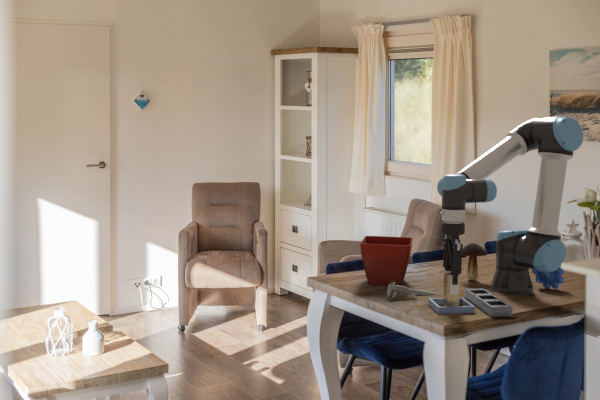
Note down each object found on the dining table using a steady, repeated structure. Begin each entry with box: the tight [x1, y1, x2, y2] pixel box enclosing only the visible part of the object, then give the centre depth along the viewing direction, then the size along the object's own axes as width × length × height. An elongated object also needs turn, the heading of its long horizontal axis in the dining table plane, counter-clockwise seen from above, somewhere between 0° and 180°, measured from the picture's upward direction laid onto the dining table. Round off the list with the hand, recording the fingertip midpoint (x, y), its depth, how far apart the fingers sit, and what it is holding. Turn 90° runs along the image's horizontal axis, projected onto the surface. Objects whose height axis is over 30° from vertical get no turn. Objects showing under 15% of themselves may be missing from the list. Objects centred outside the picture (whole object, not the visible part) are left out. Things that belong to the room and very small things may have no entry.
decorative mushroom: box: [462, 242, 488, 281], centre depth 279 cm, size 11×11×15 cm
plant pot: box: [359, 235, 414, 287], centre depth 275 cm, size 19×19×17 cm
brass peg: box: [442, 272, 461, 307], centre depth 232 cm, size 4×4×12 cm
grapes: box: [531, 266, 565, 290], centre depth 264 cm, size 12×7×12 cm, turn 62°
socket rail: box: [464, 287, 514, 318], centre depth 235 cm, size 26×7×4 cm, turn 5°
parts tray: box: [427, 297, 476, 315], centre depth 232 cm, size 12×12×3 cm
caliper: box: [386, 281, 441, 299], centre depth 251 cm, size 20×1×6 cm, turn 95°
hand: (451, 292), depth 232 cm, fingers open, 4 cm apart
